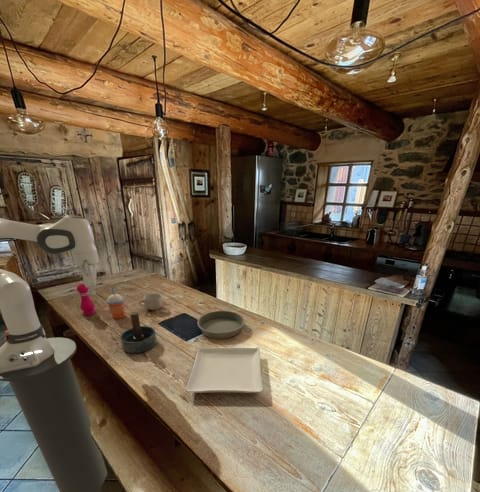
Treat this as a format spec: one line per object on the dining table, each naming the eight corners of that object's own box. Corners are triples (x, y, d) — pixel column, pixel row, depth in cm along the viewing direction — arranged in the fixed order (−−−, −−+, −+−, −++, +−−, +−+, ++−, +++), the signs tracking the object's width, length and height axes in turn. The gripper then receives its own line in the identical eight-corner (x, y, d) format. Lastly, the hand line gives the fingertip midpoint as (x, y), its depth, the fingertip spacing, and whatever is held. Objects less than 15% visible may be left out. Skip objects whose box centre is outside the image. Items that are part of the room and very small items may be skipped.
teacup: (161, 303, 170) (160, 291, 167) (165, 309, 161) (163, 297, 158) (138, 307, 165) (136, 295, 161) (141, 314, 156) (138, 302, 152)
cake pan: (204, 345, 125) (204, 336, 123) (193, 322, 146) (192, 315, 144) (252, 334, 133) (252, 326, 131) (234, 314, 154) (234, 307, 152)
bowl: (126, 358, 116) (123, 346, 114) (120, 342, 128) (117, 331, 125) (160, 347, 123) (159, 336, 121) (151, 333, 135) (149, 323, 133)
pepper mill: (98, 311, 160) (90, 279, 152) (91, 316, 154) (82, 283, 146) (87, 310, 161) (79, 279, 153) (79, 315, 155) (70, 283, 147)
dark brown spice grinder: (135, 347, 122) (129, 316, 116) (133, 342, 126) (127, 312, 119) (146, 344, 124) (140, 313, 118) (143, 340, 128) (138, 310, 122)
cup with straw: (107, 316, 154) (100, 287, 146) (123, 311, 159) (117, 283, 152) (113, 321, 148) (106, 291, 140) (129, 316, 153) (123, 287, 146)
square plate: (259, 354, 118) (259, 346, 116) (262, 399, 93) (263, 391, 91) (198, 354, 118) (198, 346, 117) (185, 398, 93) (184, 390, 92)
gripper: (94, 263, 98) (102, 297, 103) (95, 252, 115) (102, 282, 120) (74, 265, 95) (84, 300, 101) (78, 253, 112) (87, 284, 118)
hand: (94, 290), depth 111 cm, fingers open, 8 cm apart
